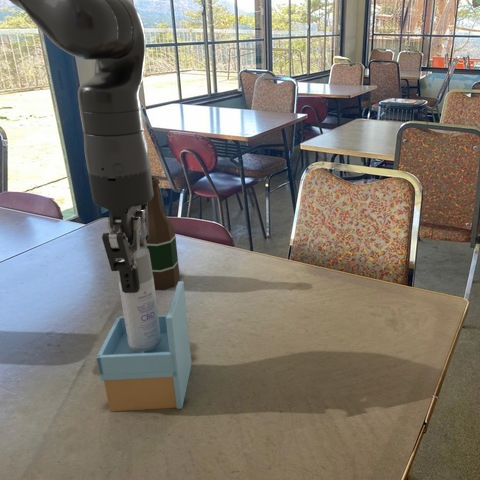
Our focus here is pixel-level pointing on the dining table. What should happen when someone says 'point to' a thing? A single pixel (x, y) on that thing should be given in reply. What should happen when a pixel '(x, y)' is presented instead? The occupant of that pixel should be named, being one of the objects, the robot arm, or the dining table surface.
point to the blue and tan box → (148, 363)
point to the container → (141, 307)
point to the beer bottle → (161, 243)
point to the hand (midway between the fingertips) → (135, 281)
